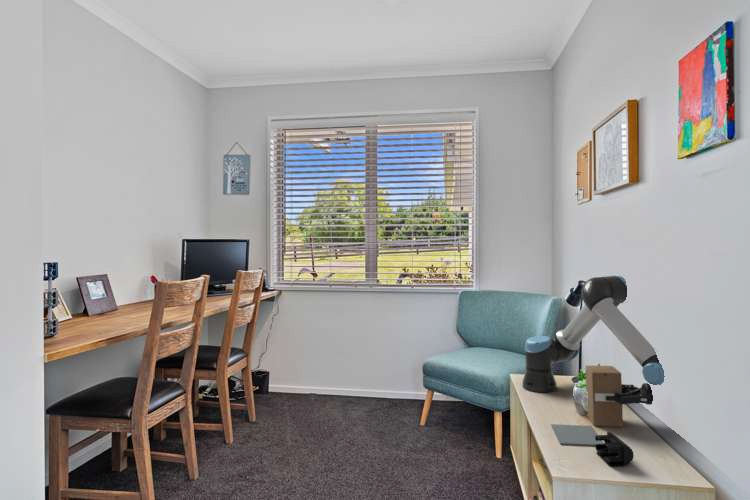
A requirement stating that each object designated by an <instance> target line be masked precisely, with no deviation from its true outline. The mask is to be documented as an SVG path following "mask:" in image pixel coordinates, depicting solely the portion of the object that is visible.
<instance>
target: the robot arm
mask: <svg viewBox="0 0 750 500" xmlns="http://www.w3.org/2000/svg"><path fill="white" fill-rule="evenodd" d="M623 277H624V276H621V275H609V276H597V277H596V276H595V277H591V278H589V279H587V280H586V281H585V282H584V283H583V285H582V288H581V293H580V294H581V299H582V301H583V303H584V305H583V306H582V308H581V309H580V310H579V311H578V313H577V314H576V315H575V316H574V317H573V319H571V321H570V322H569V323H568V324H567V325H566V327H565V328H564V329H559V330H558V331H557V332H556V333H555V334H554V336H553V337H549V336H547V335H536V336H535V335H534V336H530V337H529V338H527V339H526V340H525V343H524V345H525V346H524V351H525V353H524V354H525V355H524V356H525V372H524V376H523V378H522V388H523V389H525V390H526V391H531V392H534V393H551V392H555V391H556V390H557V389H558V387H557V381H556V378H555V376H554V373H553V364H555V363H561V362H568V361H572V360H574V359H576V358H577V357H578V356H579V353H580V347H581V344H580V343H581V342H582V341H583V339H584V338H585V337H586V336H587V335H588V334H589V332H591V330H592V329H593V328H594V326H596V325H597V323H598V322H599V321H600V320H601V321H602V323H603V324H604V325H605V326H606V327H607V329H609V330H610V332H611V333H612V334H613V335H614V336H615V337H616V339H618V341H619V342H620V344H622V346H623V347H624V348H625V349H626V350H627V352H628V353H630V355H631V356H632V357H633V358H634V359H635V361H637V362H638V364H639V365H640V366H641V367H642V376H643V379H644V380H645V381H646V382H644V383H642V384H641V386H640V387H637V386H635V385H634V384H624V383H622V394H618V393H615V394H610V393H595V401H609V402H615V401H616V402H618V403H619V404H622V405H627V404H628V405H630V404H633V405H634V404H645V405H649V406H650V405H651V404H652V401H653V395H652V390H651V387H650V385H649V384H648V383H650V384H653V385H661V384H662V383H663V382H664V377H665V376H664V370H663V368H662V365H661V364H660V363H659V360H658V358H657V355H656V352H655V350H656V349H655V347H654V348H653V347H652V346H653V345H652V344H651V343H650V342H649V341H648V340H647V339H646V337H645V336H644V335H643V334H642V333H641V332H640V331H639V329H637V327H635V325H633V323H632V322H631V321H630V320H629V319H628V318H627V317H626V316H625V314H623V313H622V312H621V310H620V309H619V308H618V306H619V305H621V304H624V303H623V302H624V301H625V300H626V297H627V285H626V281H625V279H624V278H625V277H624V278H623ZM654 349H655V350H654Z"/></svg>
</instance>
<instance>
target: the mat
mask: <svg viewBox="0 0 750 500" xmlns="http://www.w3.org/2000/svg"><path fill="white" fill-rule="evenodd" d="M550 427H551V429H552V430H553V432H554V434H555V437H556V439H557V440H558V442H559V445H560V444H561V446H578V445H579V447H580V445H581V446H582V447H584V446H585V447H596V444H604V443H605V442H604V441H603V440H602V441H596V440H595V435H599V434H598V433H597V431H596V430H595V428H594V427H593V426H592V425H581V424H580V425H576V424H574V425H573V424H553V423H552V424H551V425H550Z"/></svg>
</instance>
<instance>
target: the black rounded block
mask: <svg viewBox="0 0 750 500" xmlns="http://www.w3.org/2000/svg"><path fill="white" fill-rule="evenodd" d="M595 440H596V441H603V443H604V444H596V446H595V450H596V451H595V452H596V455H597V456H598V457H599V458H600V459H601V460H602V461H603V462H604V463H605V464H606V465H607V466H608V467H610V468H618V467H619V468H621V467H622V468H623V467H626V466H628V465H629V464H631V462H633V459H634V456H635V455H634V450H633V449H632V447H630V446H629V445H628V444H627V443H625V442H624V441H622V440H621V439H620V438H619V437H618V436H617V435H615V434H614V433H612V432H610V431H607V432H606V434H598V435H595Z"/></svg>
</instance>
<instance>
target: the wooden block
mask: <svg viewBox="0 0 750 500" xmlns="http://www.w3.org/2000/svg"><path fill="white" fill-rule="evenodd" d="M584 370H585V390H586V389H587V392H588V414H587V413H586V417H587V416H588V417H587V418H588V419H589V420H590V423H591V424H592V425H593V426H594V427H606V428H607V427H609V428H610V427H611V428H623V427H624V424H623V423H624V419H623V404H619V403H618V402H616V401H615V402H609V401H595V393H610V394H615V393H618V394H622V384H623V383H622V373H621V372H620V371H619V370H618V369H616V367H614V366H613V365H585V369H584Z"/></svg>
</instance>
